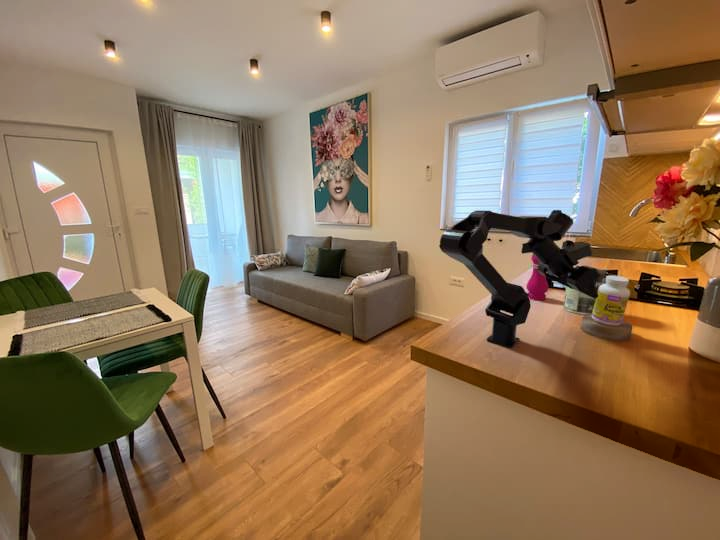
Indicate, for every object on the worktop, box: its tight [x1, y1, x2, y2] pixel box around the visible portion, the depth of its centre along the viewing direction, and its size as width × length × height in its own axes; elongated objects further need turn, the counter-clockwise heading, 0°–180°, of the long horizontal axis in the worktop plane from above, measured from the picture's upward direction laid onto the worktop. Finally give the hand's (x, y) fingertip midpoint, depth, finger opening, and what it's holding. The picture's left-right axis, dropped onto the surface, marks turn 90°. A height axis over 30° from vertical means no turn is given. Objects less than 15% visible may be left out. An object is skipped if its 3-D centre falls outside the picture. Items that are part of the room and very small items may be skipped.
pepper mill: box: [526, 253, 549, 301], centre depth 113 cm, size 7×7×20 cm
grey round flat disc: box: [580, 315, 633, 342], centre depth 84 cm, size 11×11×4 cm
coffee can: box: [562, 266, 608, 316], centre depth 100 cm, size 10×10×14 cm
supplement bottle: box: [592, 275, 631, 326], centre depth 82 cm, size 7×7×13 cm
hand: (584, 292), depth 82 cm, fingers open, 9 cm apart
